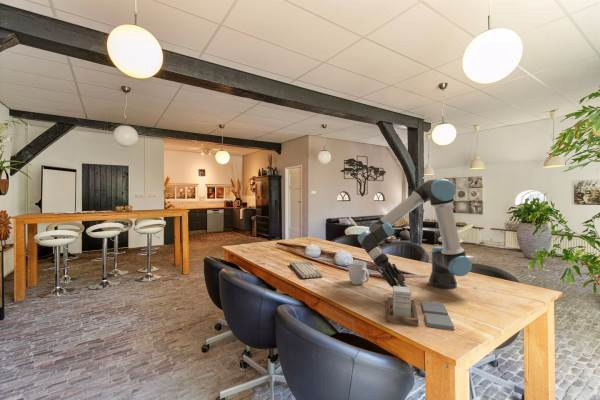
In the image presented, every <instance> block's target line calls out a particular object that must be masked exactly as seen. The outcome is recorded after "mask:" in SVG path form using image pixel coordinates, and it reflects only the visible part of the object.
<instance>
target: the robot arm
mask: <svg viewBox="0 0 600 400" xmlns="http://www.w3.org/2000/svg"><path fill="white" fill-rule="evenodd" d="M456 193H457V189H456V186H455V183H453V182H452V181H451V180H449V179H446V178H437V179H429V180H426V181H424V182H423V183H421V184H420V185H419V186H418V187H416V188H415V189H414V190H412V193H411V194H410V196H408V197H407V198H405V199H404V200H403V201H402V202H400V203H399V204H398V205H395V207H394V208H393V209H391V210H389V212H388V213H385V214H384V215H383V216H382V217H381V218H379V219H377V221H375V222H371V224H370V225H369V227H368V231H367V230H365V231H364V232H362V233H360V234H359V235H358V236H357V241H358V242H359V243H360V245H361V247H362V248H363V249H364V251H365V252H366V253H367V255H368V256H369V257H370V259H371V260H372V261H373V263H374V265H376V267H379V269H378V270H377V272H378V273H380V274H381V276H382V277H383V279H384V280H385V281H386V282H387V284H388V285H389V287H392V288H393V286H400V285H399V284H398V285H397V274H401V275H403V274H402V273H401V271H400V270H399V269H398V267H397V266H396V264H395V263H391V262H390V261H389V257H388V256H387V254H386V253H385V252H384V250H383V249H382V248H381V246H379V244H381V243H382V242H384V241H386V239H388V238H390V237H391V236H393V235H394V234H395V229H394V228H393V225H396V223H398V222H399V221H401V220H402V219H403V218H404V217H406V216H407V215H409V214H410V213H411V212H412V211H414V210H415V209H416V208H418V207H419V206H420V205H424V204H425V203H427V202H429V203H430V206H431V207H433V208H434V212H435V217H436V220H437V225H438V230H439V235H440V238H441V239H440V240H441V245H442V246H434V247H432V249H431V273H430V276H429V278H428V284H429V285H430V286H432V287H435V288H437V289H438V288H439V289H447V290H448V289H449V290H450V289H451V290H453V289H456V288H457V286H458V283H457V279H456V277H465V276H467V275H468V274H469V273H470V271H471V270H472V267H473V264H472V261H471V259H470V258H469V257H467V255H466V251H465V249H464V248H463V247H462V246H461V242H460V237H459V233H458V228H457V224H456V219H455V218H456V217H455V215H454V210H453V206H452V205H453V204H454V202H455V199H454V197H455V195H456ZM405 281H406V279H405V277H404V287H409V286H407V284H406V282H405ZM410 292H411V294H413V292H412V290H411V289H410Z"/></svg>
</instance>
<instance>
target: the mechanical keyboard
mask: <svg viewBox="0 0 600 400" xmlns="http://www.w3.org/2000/svg"><path fill="white" fill-rule="evenodd" d="M287 267H288V268H289V270H290V271H292V272H293V273H294V274H295V276H297V277H298V279H300V280H313V279H314V280H315V279H320V278H323V276H324V275H323V274H322V272H320V271H319V269H317V268H316V267H315V266H314V264H313V262H312V261H310V260H307V261H292V262H291V261H290V262H289V265H288V266H287ZM324 277H325V278H327V276H326V275H325V276H324Z"/></svg>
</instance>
